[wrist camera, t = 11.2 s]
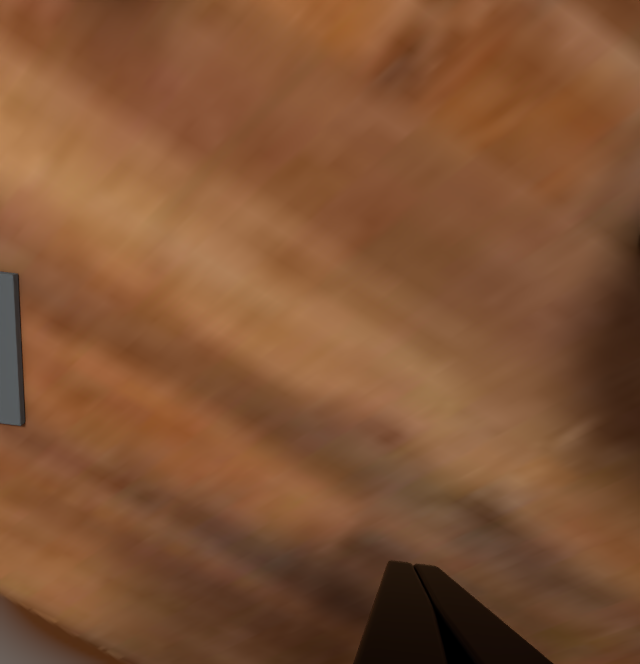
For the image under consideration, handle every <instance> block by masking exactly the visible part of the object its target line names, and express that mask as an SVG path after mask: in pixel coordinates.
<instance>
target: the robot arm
mask: <svg viewBox="0 0 640 664" xmlns="http://www.w3.org/2000/svg"><path fill="white" fill-rule="evenodd" d="M353 664H553V663H552V662H551V661H550V660H548V659H547V658H546V657H545V656H544V655H542V654H541V653H540V652H539V651H538V650H536V649H535V648H534V647H533V646H532V645H530V644H529V643H528V642H527V641H526V640H524V639H523V638H522V637H521V636H520V635H518V634H517V633H516V632H515V631H514V630H513V629H511V628H510V627H509V626H508V625H507V624H505V623H504V622H503V621H502V620H501V619H499V618H498V617H497V616H496V615H495V614H493V613H492V612H491V611H490V610H489V609H487V608H486V607H485V606H484V605H483V604H481V603H480V602H479V601H478V600H477V599H475V598H474V597H473V596H472V595H471V594H469V593H468V592H467V591H466V590H465V589H463V588H462V587H461V586H460V585H459V584H457V583H456V582H455V581H454V580H453V579H451V578H450V577H449V576H448V575H447V574H446V573H444V572H443V571H442V570H441V569H440V568H438V567H436V566H432V565H424V564H415V565H412V564H411V563H408V562H400V561H389V562H388V563H387V566H386V569H385V572H384V575H383V578H382V581H381V584H380V586H379V589H378V592H377V595H376V598H375V601H374V604H373V607H372V610H371V613H370V616H369V619H368V622H367V625H366V628H365V630H364V633H363V636H362V639H361V642H360V645H359V648H358V651H357V654H356V657H355V660H354V663H353Z"/></svg>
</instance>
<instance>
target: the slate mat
mask: <svg viewBox="0 0 640 664" xmlns="http://www.w3.org/2000/svg"><path fill="white" fill-rule="evenodd" d="M0 423H3V424H11V425H19V426H21V425H22V424H24V423H25V412H24V392H23V371H22V350H21V329H20V308H19V287H18V274H16V273H8V272H0Z"/></svg>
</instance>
